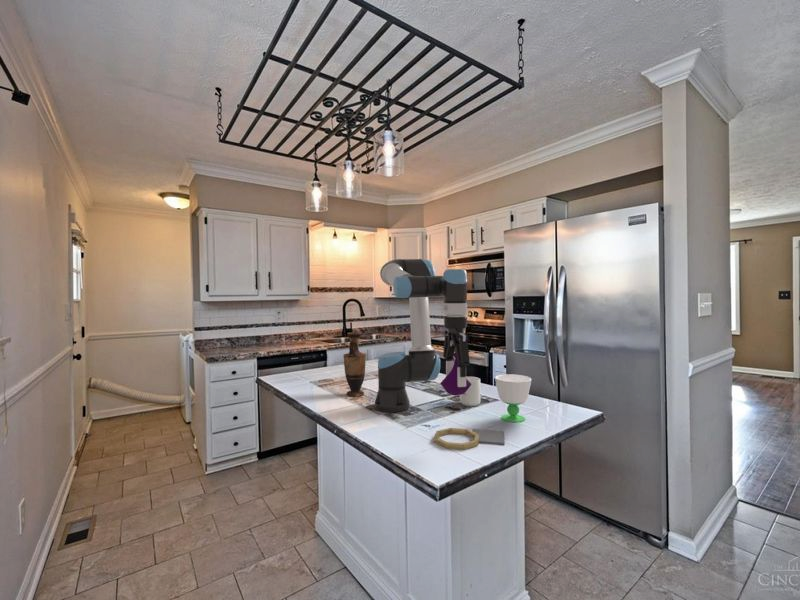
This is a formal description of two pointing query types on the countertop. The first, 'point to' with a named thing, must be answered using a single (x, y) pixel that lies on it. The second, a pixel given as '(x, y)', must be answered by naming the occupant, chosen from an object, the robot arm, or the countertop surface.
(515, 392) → the cup
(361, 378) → the vase
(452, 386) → the perfume bottle
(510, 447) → the countertop surface
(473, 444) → the wooden octagonal frame
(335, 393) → the countertop surface
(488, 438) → the slate coaster
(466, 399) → the mug
